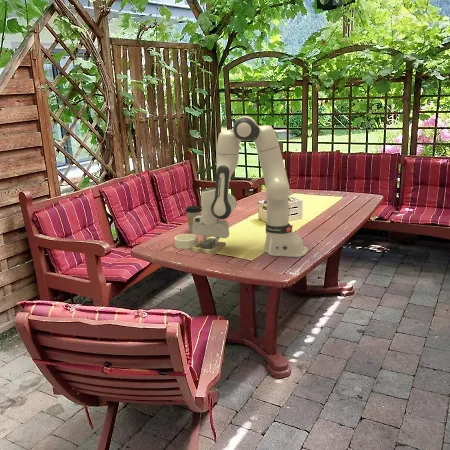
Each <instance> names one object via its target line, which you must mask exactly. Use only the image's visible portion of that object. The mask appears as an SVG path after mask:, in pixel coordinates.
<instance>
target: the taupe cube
mask: <svg viewBox="0 0 450 450" xmlns="http://www.w3.org/2000/svg"><path fill="white" fill-rule="evenodd" d="M214 241H216V239H215V237H208V238H207V240H206V242H211V248H214V247H216V246H217V245H214Z"/></svg>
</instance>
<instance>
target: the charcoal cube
mask: <svg viewBox="0 0 450 450" xmlns="http://www.w3.org/2000/svg"><path fill="white" fill-rule="evenodd" d="M200 246H201V248H203V249H210V250H211V242H206V241H204V242H202V243H201V244H200Z"/></svg>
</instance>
